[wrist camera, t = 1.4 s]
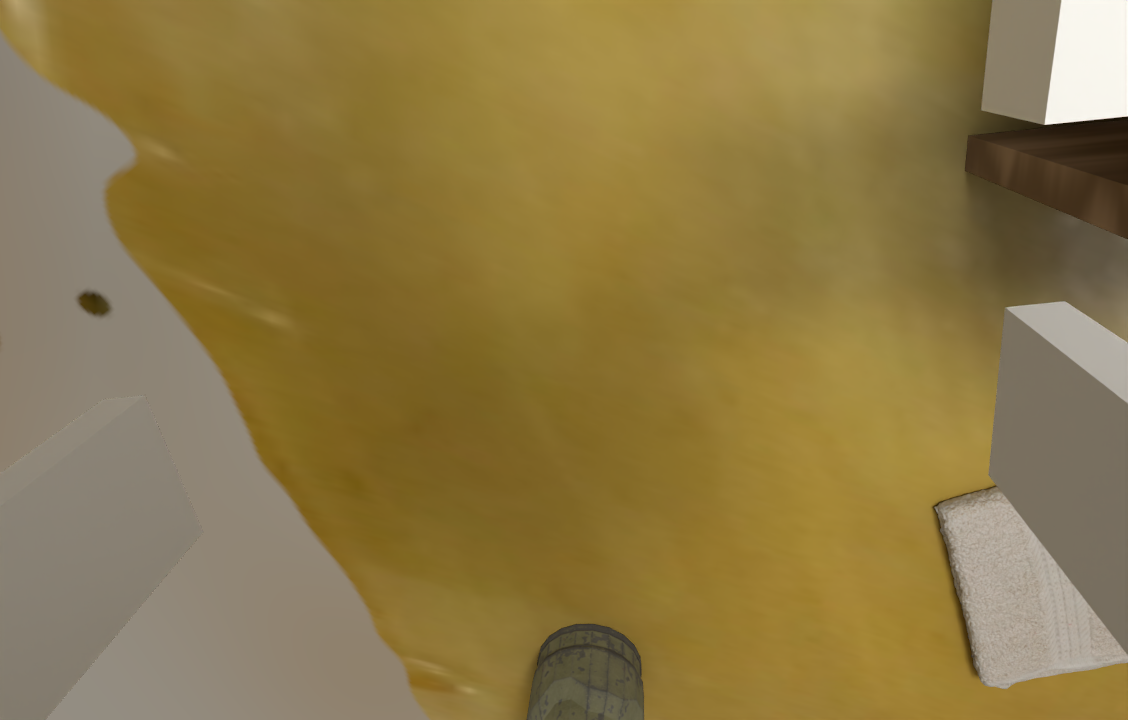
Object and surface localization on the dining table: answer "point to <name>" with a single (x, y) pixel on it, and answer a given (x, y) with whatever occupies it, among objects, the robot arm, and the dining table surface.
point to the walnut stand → (1061, 168)
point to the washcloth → (1017, 596)
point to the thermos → (587, 676)
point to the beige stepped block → (1057, 60)
